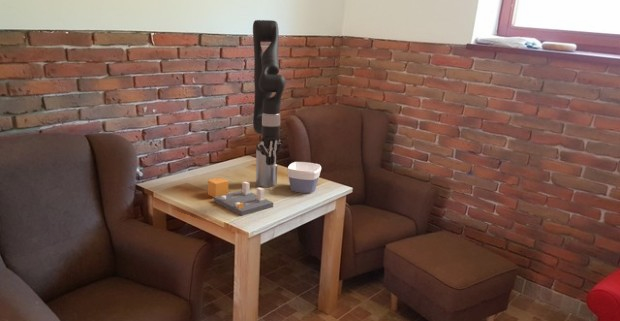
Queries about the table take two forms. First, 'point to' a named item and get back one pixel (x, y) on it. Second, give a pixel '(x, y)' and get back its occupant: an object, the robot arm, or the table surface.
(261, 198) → the block
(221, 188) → the orange block
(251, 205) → the breaker panel
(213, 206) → the table surface
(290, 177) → the bowl
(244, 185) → the untagged breaker
